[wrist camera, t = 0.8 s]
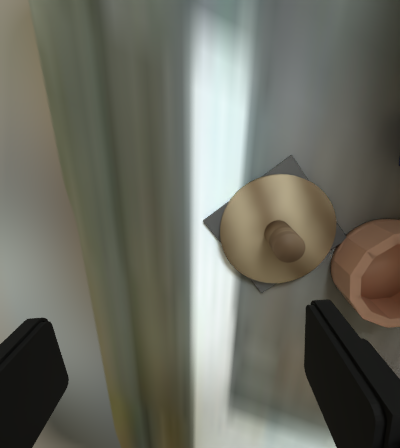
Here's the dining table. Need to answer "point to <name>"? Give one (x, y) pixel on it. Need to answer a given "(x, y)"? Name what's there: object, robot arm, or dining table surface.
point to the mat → (284, 167)
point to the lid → (277, 228)
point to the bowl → (371, 271)
